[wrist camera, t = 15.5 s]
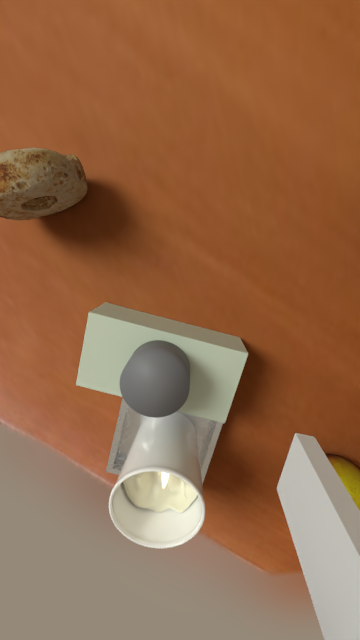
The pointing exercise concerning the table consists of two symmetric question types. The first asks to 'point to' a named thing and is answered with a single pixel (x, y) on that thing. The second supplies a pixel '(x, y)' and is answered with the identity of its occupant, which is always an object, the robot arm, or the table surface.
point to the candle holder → (160, 485)
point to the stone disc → (39, 183)
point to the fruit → (347, 476)
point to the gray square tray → (130, 426)
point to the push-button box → (160, 363)
